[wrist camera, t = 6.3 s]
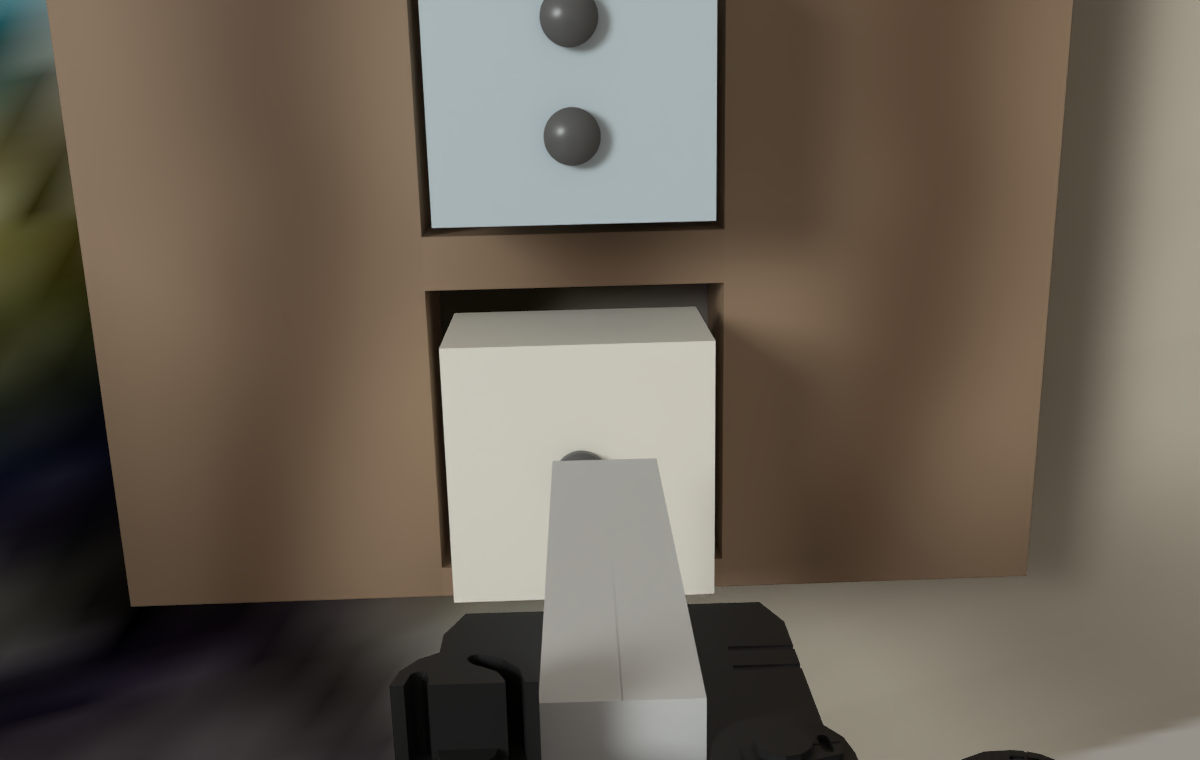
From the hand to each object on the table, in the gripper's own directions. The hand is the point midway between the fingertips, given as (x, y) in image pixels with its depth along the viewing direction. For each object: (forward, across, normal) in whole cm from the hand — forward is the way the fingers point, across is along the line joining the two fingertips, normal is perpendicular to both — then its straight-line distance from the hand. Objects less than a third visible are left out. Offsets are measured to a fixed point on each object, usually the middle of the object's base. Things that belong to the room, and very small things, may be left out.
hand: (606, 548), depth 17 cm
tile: (+6, 0, 0) cm, 6 cm away
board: (+8, 0, +7) cm, 10 cm away
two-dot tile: (+6, 0, +7) cm, 9 cm away
